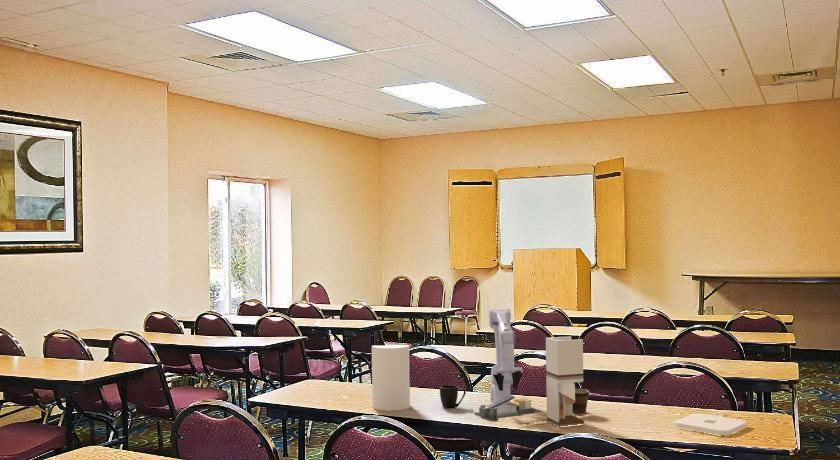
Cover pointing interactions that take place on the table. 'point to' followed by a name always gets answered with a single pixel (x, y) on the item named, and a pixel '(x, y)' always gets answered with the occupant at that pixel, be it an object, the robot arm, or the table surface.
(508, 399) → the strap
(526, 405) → the block
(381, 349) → the cylinder
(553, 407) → the coffee maker
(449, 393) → the mug
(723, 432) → the computer
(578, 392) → the ceramic cup
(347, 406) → the table surface
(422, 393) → the table surface
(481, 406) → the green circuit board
